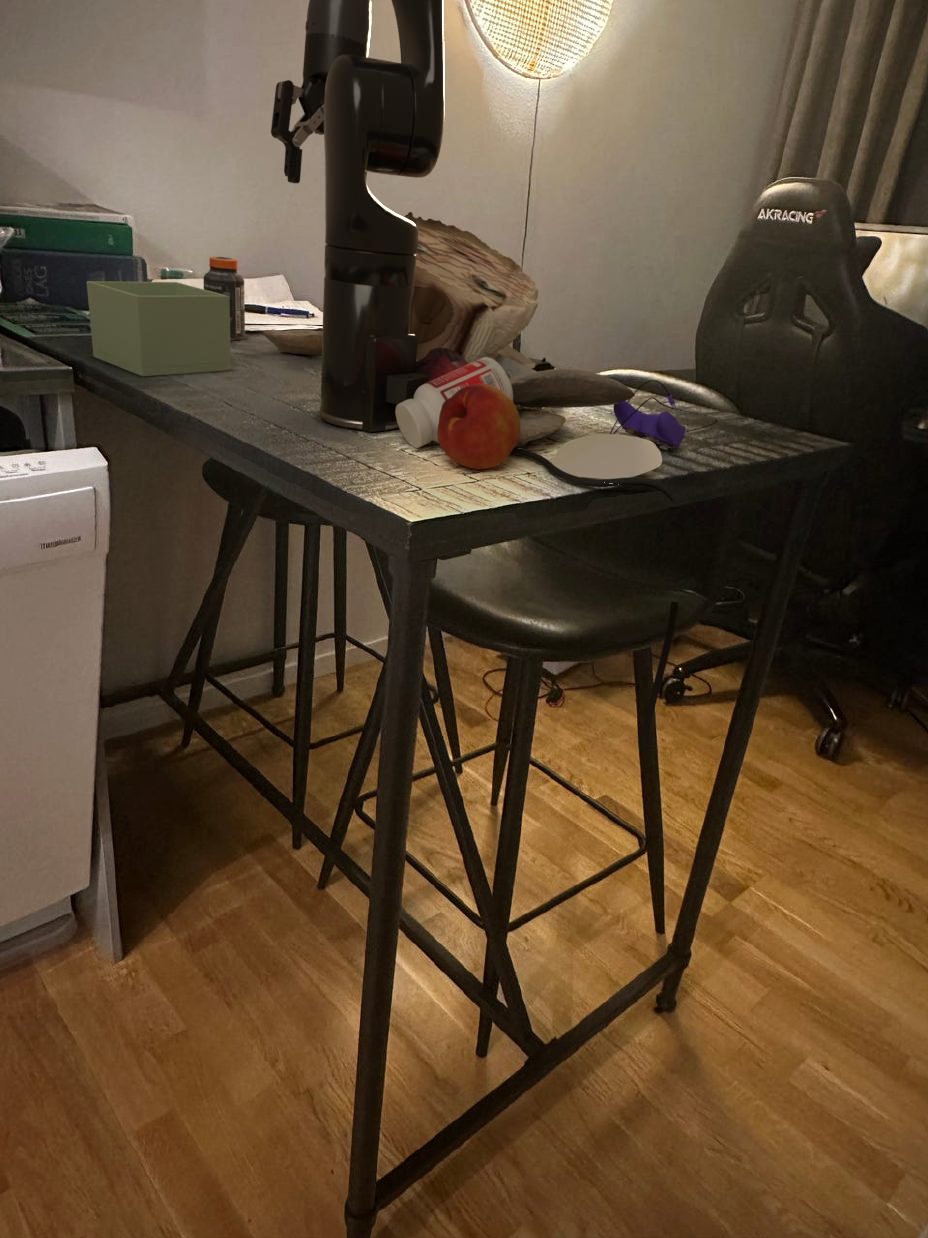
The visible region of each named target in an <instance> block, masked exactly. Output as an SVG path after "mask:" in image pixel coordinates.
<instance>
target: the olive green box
mask: <svg viewBox="0 0 928 1238" xmlns="http://www.w3.org/2000/svg"><path fill="white" fill-rule="evenodd" d="M86 291H87V292H86V293H87V302H88V313H89V324H90V335H91V344H92V355H93V358H96V359H98V360H100V361H103V362H106V363H107V364H110V365H113V366H116V367H118V368H120V369H122V370H125V371H128V372H130V373H132V374H135V375H138V376H140V377H157V376H168V375H183V374H184V375H185V374H198V373H210V372H211V373H213V372H227V371H231V370H232V354H231V353H232V351H231V340H230V301H229V296H226V295H223V294H219V293H215V292H212V291H208V290H204V288H201V287H196V286H193V285H189V284H185V283H182V282H177V281H98V280H97V281H93V280H91V281H90V280H88V281H86Z"/></svg>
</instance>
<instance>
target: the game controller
mask: <svg viewBox="0 0 928 1238" xmlns="http://www.w3.org/2000/svg"><path fill="white" fill-rule="evenodd" d="M650 382H656V383H658V384H660V385H661V386H662V388H664V390H665V391H666V394H667V395H668V396H666V398H667V400H668V402H669V405H666V404H664V403H662V402H660V400H658V399H657V398H656V397H654V396H653V397H649V398H648V399H646V400H645V401H643V403H641V404H640V405H639V406H638V407H637V408H635V407H634V406H633V405H632V404H631V403H630V401H631V399H629V400H626V401H624V402H621V403H617V404H613V406H612V407H613V413H614V416H615V418H616V421H615V423H614V424H613V426H612V429H611V431H610V433H609V434H617V432H618V431H619V430H620V429H621V428H622V429H623V430H624V432H625V433H627V434H628V435H630V436H634V437H638V438H642V439H645V438H647V437H649V438H652V439H654V440H656V441H658V443H660V444H662V445H659V448H660V449H661V450H663V451H669V448H668V447H670V448H680V446H681V444H682V441H683V439H685V438H686V434H687V433H688V432H692V431H696V430H701V429H704V428H707V427H710V426H712V425H715V424H716V423H718V419H717V418H715V417H714V416H711V415H707V414H702V413H697V412H692V411H688V410H684V409H678V408H676V407H677V406H676V401H675V399H674V397H673V395H672V394H671V395H670V393H669V390H667V388H666V387H665V385H664V384H663V383H661V381H658V380H657V379H655V380H654V379H653V380H651V379H650V380H648V381H646V382H643V384H641V385H640V386H639V387H638V388H637V389H636V390H635V391H633V392H634V393H635V394H636V393H637V392H638V391H639V390H640V389H641V388H642V387H643V386H644V385H646V384H648V383H650ZM652 399H653V400H655V401H656V402H657V403H658V404H659V405H661V406H662V407H663V406H664V407H666V408H668V409H672V410H675V411H680V412H686V413H690V414H696V415H702V416H706V417H709V418H712V419H715V422H713V423H711V424H708V425H704V426H701V427H698V428H697V427H696V428H693V429H689V430H688V429H687V428H686V426H685V425H682V424H680V423H679V421H678V420H677V418H676V417H675V416H674V415H673V414H672V413H671V412H668V411H661V413H652V414H651V413H645V412H643V411H640V410H639V409H640V408H641V407H643V406H644V405H645V404H646V403H647V402H649V400H652ZM617 423H619V427H618V428H616V430H615V431H614V429H615V427H616V425H617ZM686 429H687V430H686ZM613 431H614V432H613Z"/></svg>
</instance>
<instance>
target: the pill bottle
mask: <svg viewBox="0 0 928 1238" xmlns="http://www.w3.org/2000/svg"><path fill="white" fill-rule="evenodd" d="M208 262H209V263H208V265H209V270H208V271H207V272H205V274H203V289H204V290H208V291H212V292H215V293H219V294H223V295H226V296H229V301H230V341H239V340H242V339H244V338H245V336H246V334H245V333H246V327H245V326H246V323H245V322H246V320H245V319H246V317H245V305H246V304H245V279H244V277H243V276H242V275H241V274H239V273H238V268H239V267H238V259H236V258H232V257H225V256H209V261H208Z"/></svg>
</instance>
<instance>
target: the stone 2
mask: <svg viewBox="0 0 928 1238" xmlns="http://www.w3.org/2000/svg"><path fill="white" fill-rule="evenodd" d="M509 380H510V383H511V386H512V390H513V403H514V405H515V406H519V408H527V409H528V408H529V409H537V408H542V409H543V408H546V409H547V408H563V409H564V408H565V409H566V408H567V409H569V408H570V409H571V408H590V407H592V408H593V407H601V406H612V405H613V406H614V404H617V403H621V402H624V401H626V402H627V401H628V400H629V399H630V400H631V399H633V398H634V397H635V396H636V393H634V392H635V391H634V390H632V389H631V388H630V387H628V386H627V385H625V384H623V382H620V381H618V380H615V379H614V378H610V377H608V376H605V375H602V374H599V373H596V372H592V371H588V370H583V369H576V368H555V369H552V370H545V371H539V372H534V373H529V374H525V375H521V376H517V377H513V378H509Z"/></svg>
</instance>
